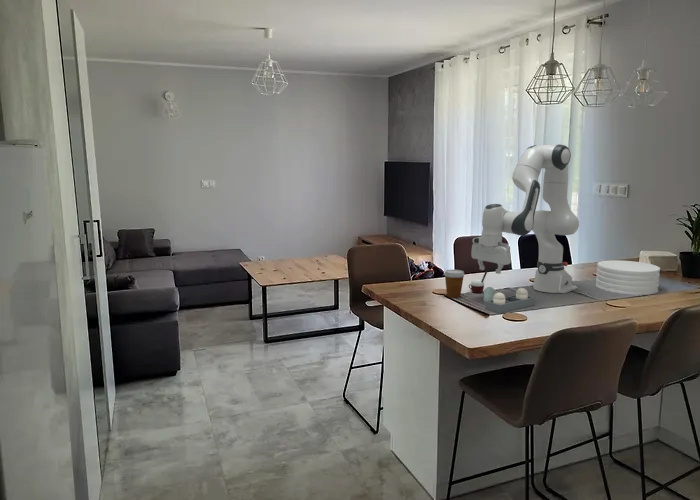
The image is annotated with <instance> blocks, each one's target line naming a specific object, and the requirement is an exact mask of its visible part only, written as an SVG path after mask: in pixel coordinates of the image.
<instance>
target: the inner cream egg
mask: <svg viewBox="0 0 700 500" xmlns="http://www.w3.org/2000/svg"><path fill="white" fill-rule="evenodd" d="M515 295H516V298H519V299H522V300H523V299H528V296H529V292H528V290H527V289H526V288H525V287H519V288H518V289H517V290H516V292H515Z"/></svg>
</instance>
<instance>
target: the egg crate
mask: <svg viewBox="0 0 700 500" xmlns="http://www.w3.org/2000/svg"><path fill="white" fill-rule="evenodd" d="M535 302H536V297H535V296H531V295H528V299H523V300H522V299H519V298H516V294H513V295H509V296H505V304H501V305H499V304H496V303H493V300H489V301H486V302H485V310H487V311H491V312H493V313H497V314H503V313H508V312H512V311H517V310H520V309H521V310H522V309H524V308H529V307H530V308H531V307H533V306H535Z"/></svg>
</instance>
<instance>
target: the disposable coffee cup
mask: <svg viewBox="0 0 700 500" xmlns="http://www.w3.org/2000/svg"><path fill="white" fill-rule="evenodd" d="M443 275H444V279H445V291H446V297H448V298H454V299H458V298H460V297H461V294H462V289H463V282H464V277H465V272H464V270H460V269H445V271H444V273H443Z"/></svg>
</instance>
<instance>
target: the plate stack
mask: <svg viewBox="0 0 700 500" xmlns="http://www.w3.org/2000/svg"><path fill="white" fill-rule="evenodd" d="M596 266H597V267H596V278H595V281H596V282H595V286H596V288H598V289H600V290H602V291H607V292H611V293H616V294H622V295H623V294H624V295H634V296H637V295H641V296H642V295H644V294H647V295H653V294H657V293H658V292H659V284H660V283H659V281H660V272H661V267H659V266H657V265H655V264H651V263H648V262H647V263H646V262H642V261H641V262H640V261H631V260H620V259H619V260H615V259H614V260H612V259H611V260H603V261H599V262H597V265H596Z"/></svg>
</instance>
